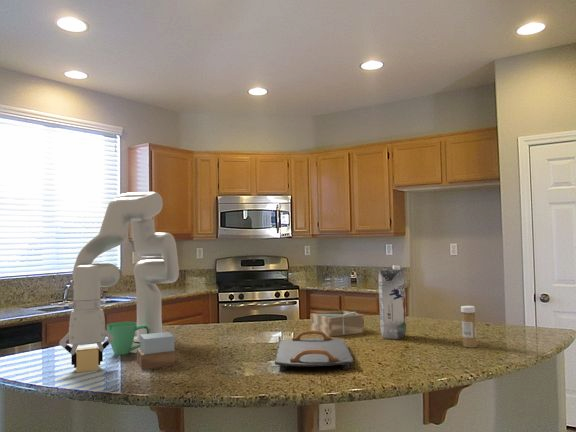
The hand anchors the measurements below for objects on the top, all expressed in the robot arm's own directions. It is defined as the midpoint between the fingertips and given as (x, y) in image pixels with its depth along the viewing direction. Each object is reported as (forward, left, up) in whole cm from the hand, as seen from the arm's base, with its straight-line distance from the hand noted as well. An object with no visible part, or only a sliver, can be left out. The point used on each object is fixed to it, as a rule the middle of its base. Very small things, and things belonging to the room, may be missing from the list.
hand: (87, 365), depth 146 cm
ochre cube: (0, 0, -1) cm, 1 cm away
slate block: (+4, +20, +3) cm, 21 cm away
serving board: (+22, +66, -2) cm, 69 cm away
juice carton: (+9, +107, -1) cm, 107 cm away
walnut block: (+4, +20, -2) cm, 20 cm away
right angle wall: (-13, +95, -1) cm, 96 cm away
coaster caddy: (-13, +95, -1) cm, 96 cm away
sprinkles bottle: (+36, +118, -1) cm, 123 cm away
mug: (-17, +14, -1) cm, 22 cm away
